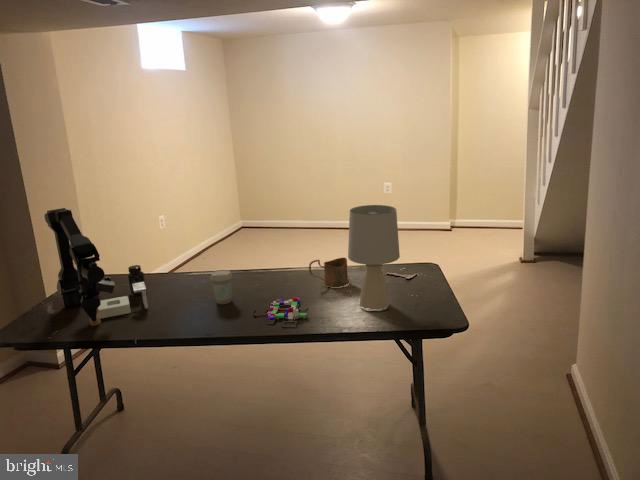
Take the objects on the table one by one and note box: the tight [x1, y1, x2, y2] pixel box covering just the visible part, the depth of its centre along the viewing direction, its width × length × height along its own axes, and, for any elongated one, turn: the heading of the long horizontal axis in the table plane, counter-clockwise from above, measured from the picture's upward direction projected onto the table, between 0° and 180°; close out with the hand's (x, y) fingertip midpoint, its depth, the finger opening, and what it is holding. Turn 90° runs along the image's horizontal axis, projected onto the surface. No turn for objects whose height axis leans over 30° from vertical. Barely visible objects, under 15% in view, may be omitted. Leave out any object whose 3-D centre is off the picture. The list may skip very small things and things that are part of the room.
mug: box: [308, 257, 350, 287], centre depth 213 cm, size 12×18×12 cm, turn 115°
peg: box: [88, 308, 102, 327], centre depth 186 cm, size 4×4×8 cm
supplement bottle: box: [126, 264, 148, 297], centre depth 213 cm, size 7×7×12 cm
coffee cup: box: [210, 269, 233, 305], centre depth 200 cm, size 8×9×12 cm
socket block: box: [98, 295, 132, 320], centre depth 197 cm, size 11×10×4 cm
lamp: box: [347, 204, 401, 309], centre depth 185 cm, size 19×19×37 cm
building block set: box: [267, 297, 308, 321], centre depth 188 cm, size 25×20×4 cm
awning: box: [132, 282, 149, 310], centre depth 200 cm, size 4×9×8 cm, turn 24°
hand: (94, 316), depth 186 cm, fingers open, 9 cm apart
